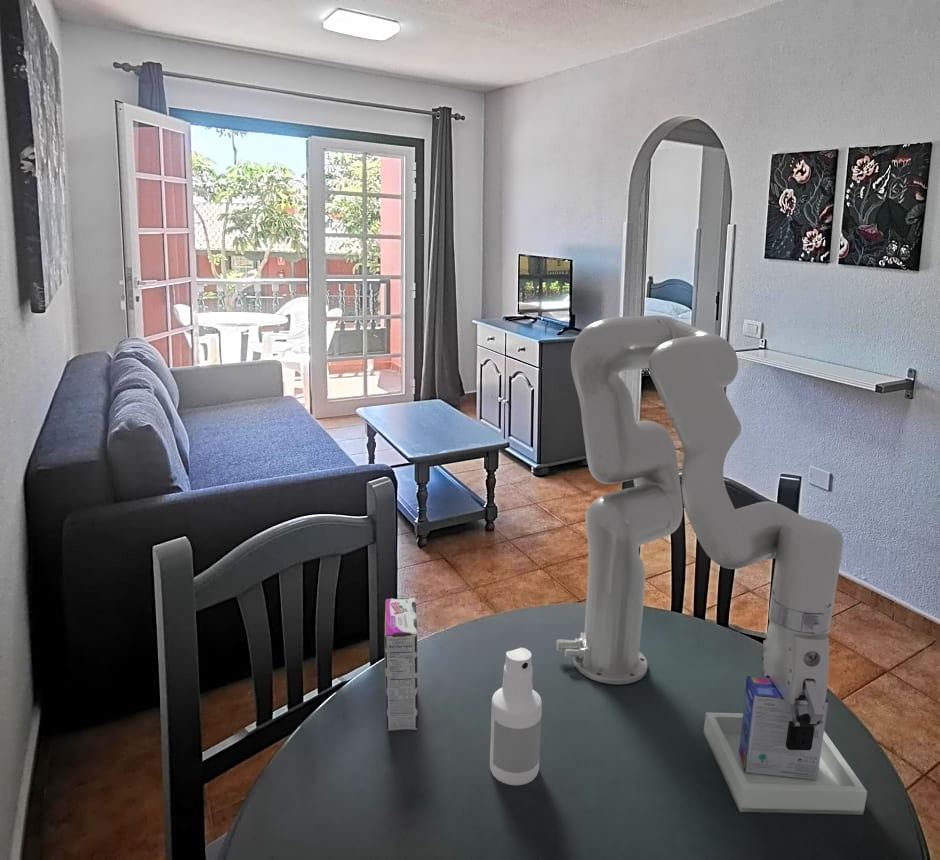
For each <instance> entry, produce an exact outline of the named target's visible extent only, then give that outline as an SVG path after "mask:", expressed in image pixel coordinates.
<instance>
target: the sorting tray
mask: <svg viewBox="0 0 940 860" xmlns="http://www.w3.org/2000/svg"><path fill="white" fill-rule="evenodd" d="M742 720H743V712H708V711H707V712H705V718H704V726H703V735H704V737H705V739H706V741H707V743H708V746H709V748H710V750H711V751H712V754H713V756H714V758H715V761H716V763H717V766H718V767H719V770H720V771H721V774H722V776H723V778H724V780H725V782H726V784H727V787H728V790H729V791H730V794H731V795H732V798H733V800H734V802H735V805H736V807H737V809H738V810H739V812H740V813H772V814H773V813H774V814H775V813H778V814H779V813H782V814H783V813H784V814H814V815H816V814H821V815H822V814H825V815H859V816H860V815H861V816H862V815H864V812H865V808H866V802H867V796H868V791H867V790H866V788H865V786H864V785H863V784H862V782H861V780H860V779H859V778H858V776H857V775H856V773H855V772H854V771H853V769H852V768H851V766H849V763H848V762H847V761H846V759H845V758H844V757H843V755H842V754H841V752H840V751H839V749H838V748H837V747H836V746H835V744H834V743H833V741H832V740H831V739H830V737H829V736H828V734H827V733H826V731H825V730H824V735H823V742H822V749H821V755H820V762H819V770H818V777H817V779H816V780H814V779H805V778H795V777H786V776H776V775H766V774H756V773H747V772H745V771H744V769H743V765H742V762H741V758H740V755H739V746H740V737H741V729H742Z"/></svg>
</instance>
